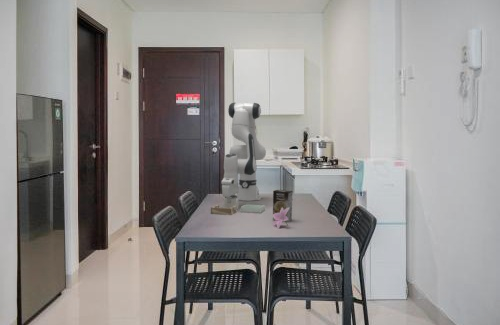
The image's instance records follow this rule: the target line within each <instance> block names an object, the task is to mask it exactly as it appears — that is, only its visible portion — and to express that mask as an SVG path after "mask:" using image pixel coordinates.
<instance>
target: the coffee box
mask: <svg viewBox="0 0 500 325" xmlns="http://www.w3.org/2000/svg"><path fill="white" fill-rule="evenodd" d="M272 194H273V195H272V215H273V214H275V213H280V210H281V208H282V207H283V210H285V209H286V208H289V207H290V208H289V210H288V211H287V213H286V215H285V216H287V218H288V220H286V222H287V223H288V222H290V221H292V220H293V190H287V189H283V190H282V189H275V190H273V192H272ZM272 220H273V221H275V219H274V218H273V217H272ZM286 222H285V223H286Z"/></svg>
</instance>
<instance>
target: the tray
mask: <svg viewBox="0 0 500 325" xmlns="http://www.w3.org/2000/svg"><path fill="white" fill-rule="evenodd" d="M265 210H266V205H265V204H263V205H262V204H244V205H242V206H240V213H250V214H251V213H252V214H261V213H263V212H265Z"/></svg>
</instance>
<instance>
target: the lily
mask: <svg viewBox="0 0 500 325" xmlns="http://www.w3.org/2000/svg"><path fill="white" fill-rule="evenodd" d="M289 208H290V207H289ZM289 208H286V209H285V210H283V207H282V208H281V210H280V213H275V214H273V213H272V219H273V218H274V219H275V220H274V222H273V223H272V227H274V226H276V227H277V229H280V227H281V224H282V223H283V222H285V223H286V225H287V226H288V225H289V224H288V222H286V220H288V218H287V216H285V215H286V213H287V211H288V210H289Z"/></svg>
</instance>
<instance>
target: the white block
mask: <svg viewBox="0 0 500 325" xmlns="http://www.w3.org/2000/svg"><path fill="white" fill-rule="evenodd" d="M234 197H235V198H234ZM230 200H231V203H227V198H226V197H223V207H222V208H231V207H233V206H236V211H237V210H239V200H238V198H237V195H236V194H235V195H232V196H230Z"/></svg>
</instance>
